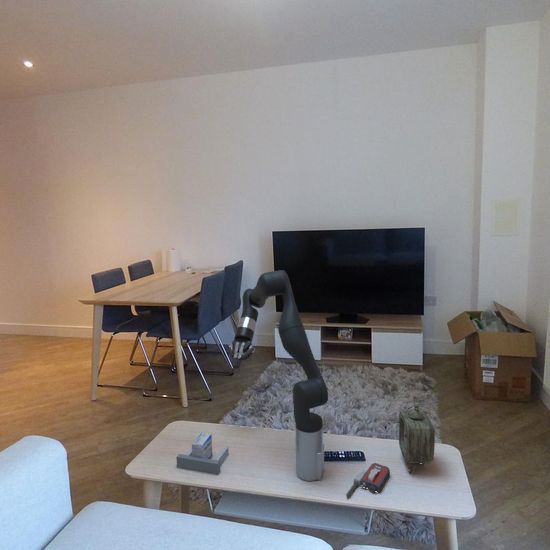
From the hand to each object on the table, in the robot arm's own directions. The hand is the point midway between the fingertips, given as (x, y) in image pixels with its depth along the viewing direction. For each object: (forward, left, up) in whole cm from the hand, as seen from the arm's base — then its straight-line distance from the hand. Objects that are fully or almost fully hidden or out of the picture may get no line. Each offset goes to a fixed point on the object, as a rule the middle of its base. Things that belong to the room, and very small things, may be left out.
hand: (235, 368), depth 165 cm
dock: (+4, +21, -28) cm, 35 cm away
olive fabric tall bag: (-69, +3, -28) cm, 75 cm away
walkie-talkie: (-54, +19, -28) cm, 64 cm away
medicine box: (+5, +21, -28) cm, 36 cm away
